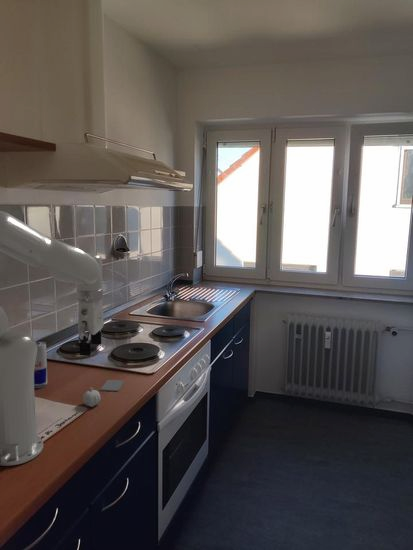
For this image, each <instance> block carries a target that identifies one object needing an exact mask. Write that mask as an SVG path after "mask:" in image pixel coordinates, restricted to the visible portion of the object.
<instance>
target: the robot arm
mask: <svg viewBox="0 0 413 550" xmlns="http://www.w3.org/2000/svg"><path fill="white" fill-rule="evenodd" d="M0 252H1V253H4V254H5V255H7V256H9V257H11V258H13V259H15V260H17V261H19V262H21V263H23V264H26V265H28V266H31V267H34V268H37V269H43V270H48V273H49V275H50V276H51V277H52V279H54V280H56V281H58V282H61V283H70V284H75V286H76V288H75V289H76V301H77V302H78V311H77V313H78V314H77V322H78V324H77V325H78V326H77V327H78V332H77V335H78V344H79V355H80V356H86V357H90V356H91V355H92V349H91V348H92V345H98V346H99V345H101V344H102V329H103V328H104V327H105V322H104V321H105V320H104V319H105V318H104V317H105V316H104V307H103V300H104V299H103V298H104V297H103V296H104V295H103V294H104V293H103V292H104V290H103V289H104V288H103V287H104V286H103V259H102V256H101V254H98V253H96V252H95V253H92V252H85V251H83V249H80V248H78V247H76V246H73V245H72V244H67V243H65V242H62V240H58V239H56V238H53V237H51V236H48V235H45V234H43V233H41V232H40V231H38V230H37V229H35V228H33V227H32V226H30V225H28V224H26V223H25V222H23V221H22V220H20V219H19V218H17V217H15V216H14V215H12V214H10V213H9V212H6V211H2V210H0ZM9 324H10V322H9V317H8V315H7V313H6V312H5V310H4V309H3V308H2V307H1V306H0V466H4V467H10V466H17V465H21V464H25V463H27V462H30V461H31V460H33V459H35V458H36V457H38V455H40V454H41V453H42V451H43V449H44V441H43V439H42V438H41V437H39V436H38V435H37V419H36V418H37V417H36V398H35V397H36V396H35V395H36V393H35V392H36V391H35V387H34V368H35V361H36V356H37V344H36V342H37V341H36V340H35V339H34V337H33V336H32V335H31V334H29V333H27V332H25V331H23V330H19V329H14V328H11V327H9Z"/></svg>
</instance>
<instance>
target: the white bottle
mask: <svg viewBox="0 0 413 550" xmlns="http://www.w3.org/2000/svg"><path fill="white" fill-rule="evenodd" d="M36 344H37V356H36V361H35V368H34V389H41V388H45V386H47V384H48V364H47V363H48V361H47V359H48V358H47V343H46V342H45V341H36Z"/></svg>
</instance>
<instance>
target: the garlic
mask: <svg viewBox="0 0 413 550" xmlns="http://www.w3.org/2000/svg"><path fill="white" fill-rule="evenodd" d="M82 402H83V404H84V405H86V406H87V407H91V408H93V407H95V406H97V405H98V404H99V403H100V402H101V394H100V392H99V391H98V390H96V389H93V387H90V390H87V391H86V392H85V393H83V394H82Z"/></svg>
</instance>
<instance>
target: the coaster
mask: <svg viewBox="0 0 413 550" xmlns="http://www.w3.org/2000/svg"><path fill="white" fill-rule="evenodd" d="M124 383H125V380H118V379H116V380H114V379H107V380H106V381H105V383H104V384H103V385H102V386H101V388H100V391H103V392H119V391H120V389H121V388H122V386H123V385H124Z"/></svg>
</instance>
